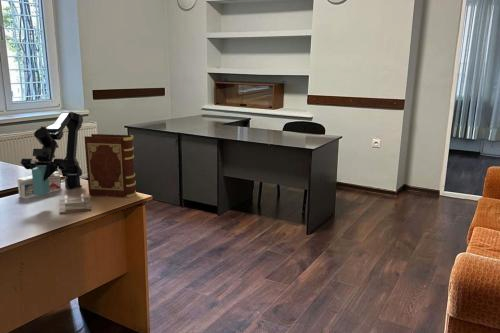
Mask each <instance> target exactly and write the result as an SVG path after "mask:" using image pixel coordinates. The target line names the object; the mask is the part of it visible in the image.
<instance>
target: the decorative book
mask: <svg viewBox="0 0 500 333" xmlns="http://www.w3.org/2000/svg"><path fill="white" fill-rule="evenodd" d="M90 135H91V136H89V135H87V136H86V135H85V136H84V148H85V150H84V151H85V162H86V173H87V183H88V184H87V186H88V194H89V197H91V196H95V197H114V198H115V197H116V198H133V197H134V196H136V195H137V191H136V185H137V184H136V182H137V181H136V179H135V178H136V173H135V165H134V164H135V163H134V162H135V160H134V158H135V155H134V148H135V147H134V143H133V140H134V135H132V134H128V135H127V134H104V133H102V134H101V133H91V134H90Z"/></svg>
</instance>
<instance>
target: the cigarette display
mask: <svg viewBox="0 0 500 333" xmlns="http://www.w3.org/2000/svg"><path fill="white" fill-rule="evenodd" d="M57 174H60V172H59V171H55V172H54V173H53V174H52V175H50V176H49V177H48V179H49V188H50V192H48V193H47V194H49V193H54V192H57V191H60V189H62V184H61V175H57ZM16 179H17V180H16V181H17V187H18V188H17V189H18V196H19V198H23V199H29V198H30V197H31V198H34V197H36V196H35V195H34V186H33V178H32V174H31V175H28V176H23V177H18V178H17V177H16Z"/></svg>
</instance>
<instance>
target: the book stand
mask: <svg viewBox="0 0 500 333" xmlns="http://www.w3.org/2000/svg"><path fill="white" fill-rule="evenodd" d="M58 207H59V208H58V209H59V210H58V213H59V215H67V214H75V213H83V212H91V211H92V207H91V201H90V196H84V193H80V197H74V198H68V194H67V195H64V199H59V206H58Z"/></svg>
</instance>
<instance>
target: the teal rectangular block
mask: <svg viewBox="0 0 500 333" xmlns="http://www.w3.org/2000/svg"><path fill="white" fill-rule="evenodd" d="M46 169H47V166H37V167H35V168H33V169H31V175H32V178H33V186H34V195H35V196H34V197H38V196H45V195H47V194H49V193H48V192H50V188H49V179H48V178H47V179H46V180H45V181H44V180H43V179H44V175H45V172H46ZM50 193H51V192H50Z"/></svg>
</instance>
